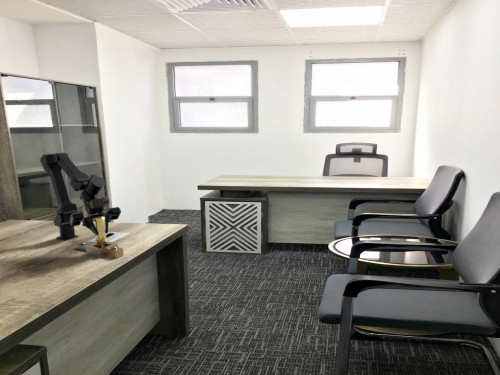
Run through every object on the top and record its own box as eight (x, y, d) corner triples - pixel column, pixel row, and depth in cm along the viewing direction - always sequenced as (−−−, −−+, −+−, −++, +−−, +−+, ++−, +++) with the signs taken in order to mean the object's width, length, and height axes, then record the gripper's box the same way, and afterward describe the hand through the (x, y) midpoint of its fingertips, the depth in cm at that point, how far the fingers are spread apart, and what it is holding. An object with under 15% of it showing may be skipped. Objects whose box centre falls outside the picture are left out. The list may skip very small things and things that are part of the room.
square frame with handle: (70, 249, 152) (70, 241, 151) (88, 244, 159) (88, 236, 158) (110, 260, 140) (110, 251, 139) (128, 253, 147) (127, 245, 147)
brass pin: (95, 249, 148) (93, 217, 145) (102, 247, 151) (100, 216, 149) (101, 251, 146) (99, 219, 144) (108, 248, 149) (106, 217, 147)
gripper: (69, 193, 141) (80, 227, 135) (118, 187, 153) (130, 219, 147) (65, 209, 149) (75, 242, 142) (112, 203, 161) (123, 233, 154)
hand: (102, 233), depth 146 cm, fingers closed on brass pin, 4 cm apart
